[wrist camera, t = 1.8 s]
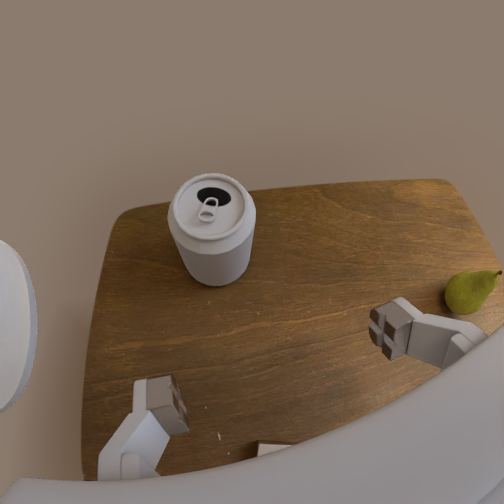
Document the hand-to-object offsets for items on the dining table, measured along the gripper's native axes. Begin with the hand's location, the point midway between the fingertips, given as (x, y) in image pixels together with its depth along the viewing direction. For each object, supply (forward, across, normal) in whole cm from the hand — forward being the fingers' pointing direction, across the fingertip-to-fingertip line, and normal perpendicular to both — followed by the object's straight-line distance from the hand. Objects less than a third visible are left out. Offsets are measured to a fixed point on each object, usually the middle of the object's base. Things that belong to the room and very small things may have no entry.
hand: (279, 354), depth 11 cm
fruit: (+13, -28, +17) cm, 35 cm away
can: (+24, 0, +6) cm, 25 cm away
